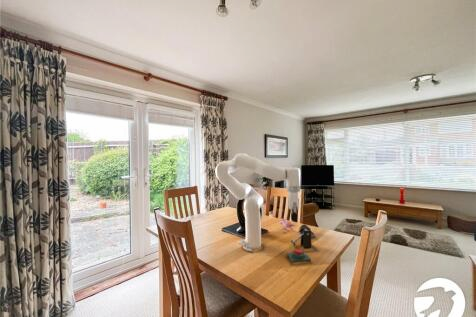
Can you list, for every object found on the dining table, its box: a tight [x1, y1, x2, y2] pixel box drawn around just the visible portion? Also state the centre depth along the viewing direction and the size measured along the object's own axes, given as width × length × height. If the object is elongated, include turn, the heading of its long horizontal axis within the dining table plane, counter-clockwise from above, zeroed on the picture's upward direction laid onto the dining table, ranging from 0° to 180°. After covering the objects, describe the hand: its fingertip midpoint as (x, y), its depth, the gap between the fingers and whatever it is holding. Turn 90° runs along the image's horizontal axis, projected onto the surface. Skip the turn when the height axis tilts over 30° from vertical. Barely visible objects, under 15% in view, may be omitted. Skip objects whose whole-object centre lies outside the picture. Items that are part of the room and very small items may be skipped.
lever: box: [290, 229, 307, 246], centre depth 121 cm, size 12×5×2 cm
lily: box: [279, 217, 297, 231], centre depth 150 cm, size 12×12×10 cm
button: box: [294, 248, 303, 255], centre depth 109 cm, size 4×4×2 cm
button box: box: [286, 249, 312, 263], centre depth 109 cm, size 10×8×4 cm
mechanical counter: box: [298, 224, 317, 239], centre depth 140 cm, size 7×13×10 cm
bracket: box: [300, 228, 312, 250], centre depth 122 cm, size 10×8×12 cm
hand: (294, 220), depth 116 cm, fingers closed
